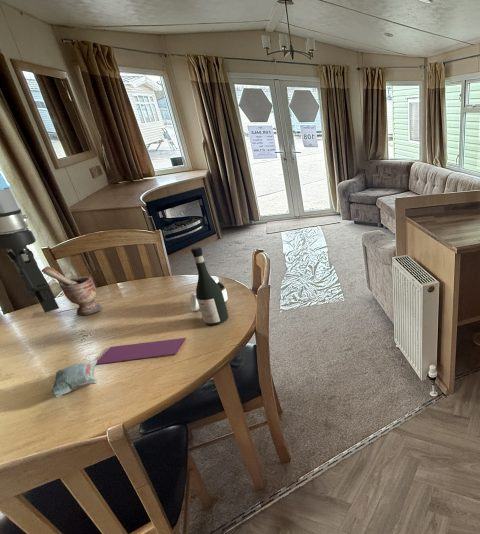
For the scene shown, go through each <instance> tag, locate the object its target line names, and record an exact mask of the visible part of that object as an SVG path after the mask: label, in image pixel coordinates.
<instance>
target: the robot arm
mask: <svg viewBox="0 0 480 534" xmlns="http://www.w3.org/2000/svg"><path fill="white" fill-rule="evenodd" d="M28 218H29V215H27V214H23V212H22V209H21V207H20V206H19V204H18V202H17V199H16V197H15V195H14V192H13V189H12V187H11V184H10V183H9V182H8V180H7V179H6V177H5V175H4V174H3V172H2V171H1V170H0V250H7V252H6V256H7V257H8V259H10V261H11V262H12V264H13V265H14V267H15V270H16V272H17V273H18V275H19V276H21V277H20V278H21V279H22V281H23V284H24V285H25V287H26V289H27V291H28V293H29V295H30V297H31V298H37V300H38V302H39V304H40V306H41V308H42V310H43V312H44V313H49V312H52V311H56V310H58V309H60V306H59V305H58V302H57V300H56V299H55V297H54V295H53V293H52V291H51V287H50V286H51V285H50V284H49V283H48V282H47V280H46V278H45V276H44V275H43V272H42V271H41V269H40V268H39V266H38V262H37V260H36V259H35V255H34V253H33V251H32V250H30V249H29V248H26V247H27V246H31V245H33V244H34V243H36V240H37V239H36V237H35V236H34V233H33V231H32V229H31V228H29V223H28V222H27V220H26V219H28Z"/></svg>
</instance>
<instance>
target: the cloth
mask: <svg viewBox="0 0 480 534" xmlns="http://www.w3.org/2000/svg"><path fill="white" fill-rule="evenodd" d="M186 339H187V337H181V338H180V337H179V338H172V339H164V340H163V339H162V340H156V341H148V342H139V343H130V344H121V345H115V346H114V345H113V346H110V347H109V348H107V350H106V351H105V352H104V353H103V354H102V355H101V356H100V357H99V358H98V359H97V363H96V365H95V366H99V365H100V364H101V365H107V364H114V363H122V362H123V363H124V362H129V361H130V362H131V361H137V360H146V359H153V358H161V357H169V356H176V355H177V353H178V352H179V350H180V349H181V347H182V346H183V344H184V343H185V341H186ZM101 365H100V366H101Z"/></svg>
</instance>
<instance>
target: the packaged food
mask: <svg viewBox="0 0 480 534" xmlns="http://www.w3.org/2000/svg"><path fill="white" fill-rule="evenodd" d="M97 360H98V359H96V358H95V359H92V360H91V361H86V362H80V363H79V362H76V363H73V364H71V365H69V366H67V367H64V368H62V369H59V370H58V371H56V372H55V377H54V378H55V379H54V383H53V386H52V388H51V393H52V394H53V395H54V396H55V397H56V398H61V397H62V395H65V394H68V393H71V392H75V391H77V390H79V389H82V388H85V387H88V386H90V385H97V384H98V380H97V378H95V373H94V371H95V368H96V366H97V365H96V363H97Z"/></svg>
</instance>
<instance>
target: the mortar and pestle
mask: <svg viewBox="0 0 480 534" xmlns="http://www.w3.org/2000/svg"><path fill="white" fill-rule="evenodd" d="M40 271H41V273H42V274H44V275H46V276H48V277H50V278H52V279H54V280H57V281H59V282H60V285H59V287H60V289H61V290H62V292H63V294H64V296H65V297H66V298H67V299H68V300H69V301H70V303H72V304H74V305H78V307H77V309H76V314H77V315H78V316H87V315H91V314H94V313H98V312H101V311H102V309H103V305H102V304H101V303H99V302H96V301H95V300H96V298H97V296H98V293H97V288H96V285H95V283H94V280H93V278H92V277H90V276H79V277H74V278H71V279H69V278H67V277H66V276H65V275H63V274H61V273H60V272H59V271H57V270H56V269H55V268H54V267H51V266H46V267H44V268H43V269H40Z"/></svg>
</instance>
